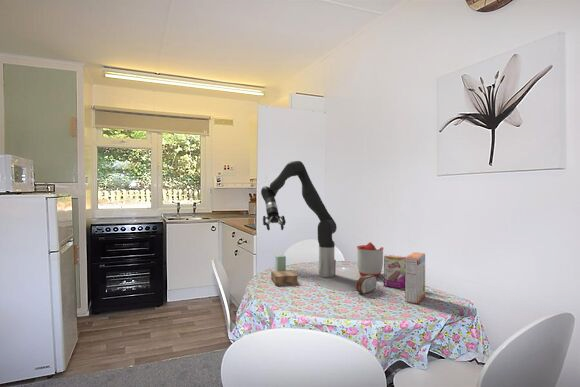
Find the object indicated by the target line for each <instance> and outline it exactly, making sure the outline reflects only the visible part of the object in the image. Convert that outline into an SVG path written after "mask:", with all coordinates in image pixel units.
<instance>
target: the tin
mask: <svg viewBox="0 0 580 387" xmlns="http://www.w3.org/2000/svg"><path fill="white" fill-rule="evenodd" d="M377 279H378V277H376V276H374V275H372V274H368V275H365V276H360V277H359V278H358V280H357V282H356V292H357V293H359V294H361V295H366V294H368V293H371V292H373V291H375V289H376V287H377V284H378V283H377V282H378V281H377Z"/></svg>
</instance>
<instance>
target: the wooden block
mask: <svg viewBox="0 0 580 387" xmlns="http://www.w3.org/2000/svg"><path fill="white" fill-rule="evenodd" d="M270 276H271V278H270V280H271V281H272V283H273V284H274V286H285V285H286V286H289V285H290V286H291V285H298V275H297V274H296V273H295V272H294V271H293V270H292V269H289V270H287V269H286V271H275V270H272V271H271V272H270Z"/></svg>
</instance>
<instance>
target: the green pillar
mask: <svg viewBox="0 0 580 387" xmlns="http://www.w3.org/2000/svg"><path fill="white" fill-rule="evenodd" d="M286 258H287V256H286V255H285V254H275V267H274V268H275V270H274V271H286V270H287V269H286V268H287V263H286V262H287V259H286Z"/></svg>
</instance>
